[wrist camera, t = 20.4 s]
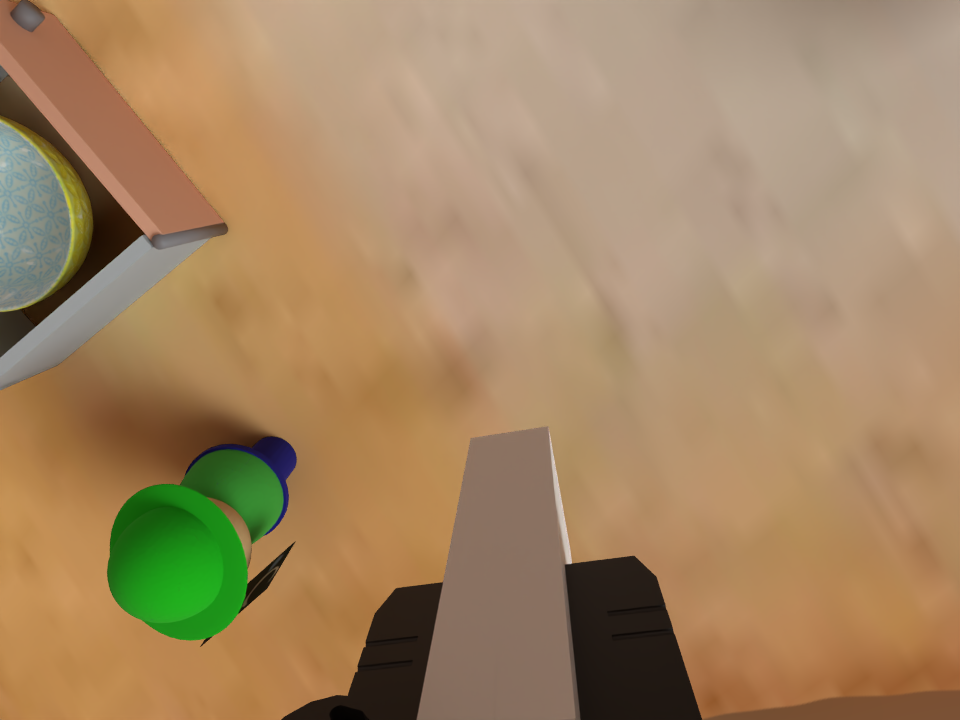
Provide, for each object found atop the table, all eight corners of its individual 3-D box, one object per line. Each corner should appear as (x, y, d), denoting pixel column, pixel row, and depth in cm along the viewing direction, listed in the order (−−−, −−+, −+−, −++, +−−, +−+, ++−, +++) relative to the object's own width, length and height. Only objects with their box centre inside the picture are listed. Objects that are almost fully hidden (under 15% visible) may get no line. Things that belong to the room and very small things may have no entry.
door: (65, 3, 37) (-42, -34, 30) (241, 220, 40) (181, 232, 33) (45, 24, 38) (-65, -8, 31) (221, 237, 41) (158, 252, 34)
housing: (42, 18, 38) (-71, -16, 31) (216, 232, 41) (152, 247, 34) (-115, 179, 41) (-248, 183, 34) (57, 365, 45) (-31, 403, 37)
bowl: (154, 286, 42) (94, 306, 36) (-5, 297, 43) (-88, 318, 37) (112, 105, 39) (39, 95, 33) (-59, 121, 40) (-160, 114, 34)
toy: (266, 540, 48) (156, 701, 33) (177, 463, 46) (23, 597, 32) (344, 469, 46) (262, 609, 31) (254, 386, 44) (124, 493, 30)
